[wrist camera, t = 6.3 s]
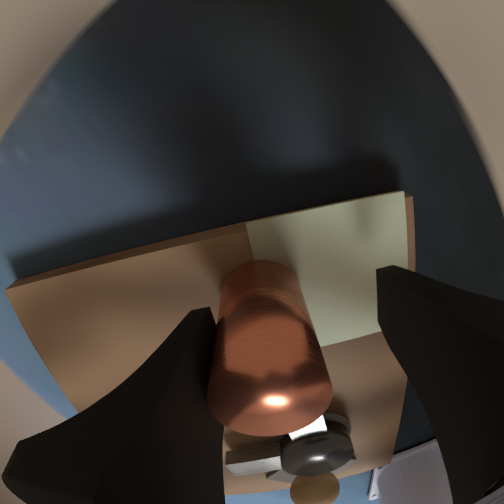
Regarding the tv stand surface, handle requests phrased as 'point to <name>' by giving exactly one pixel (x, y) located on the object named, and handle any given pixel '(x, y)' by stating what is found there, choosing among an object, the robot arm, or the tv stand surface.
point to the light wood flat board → (208, 295)
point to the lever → (273, 376)
